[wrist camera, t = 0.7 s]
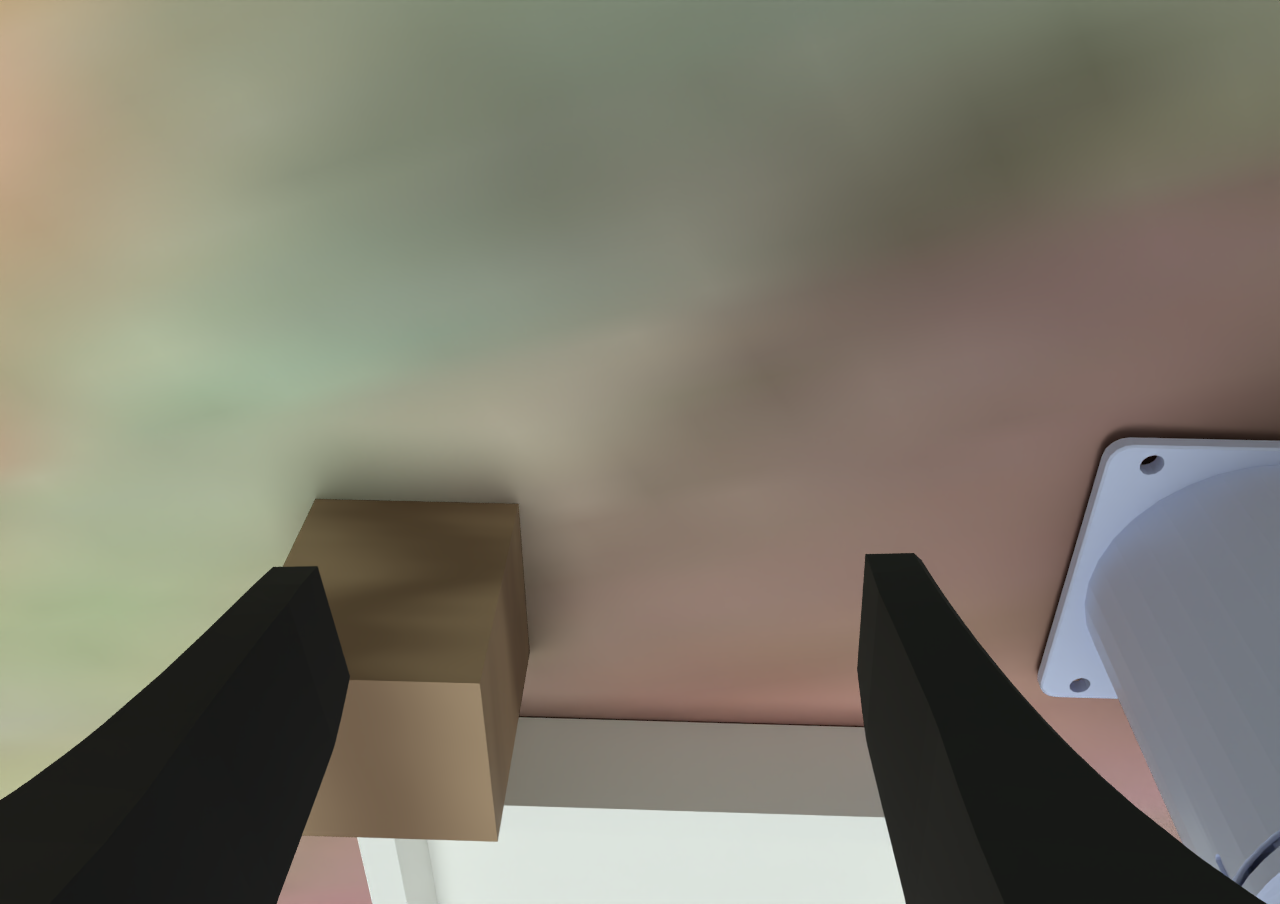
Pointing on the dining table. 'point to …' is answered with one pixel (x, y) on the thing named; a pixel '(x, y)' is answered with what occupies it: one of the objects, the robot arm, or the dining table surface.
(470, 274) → the dining table surface
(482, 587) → the walnut block
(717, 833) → the tray
